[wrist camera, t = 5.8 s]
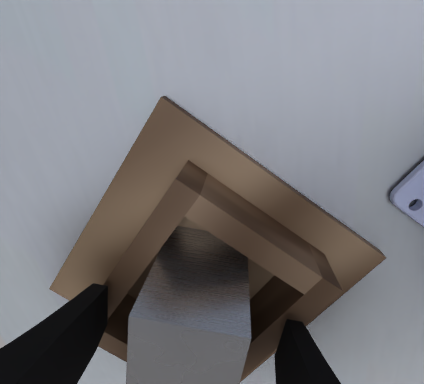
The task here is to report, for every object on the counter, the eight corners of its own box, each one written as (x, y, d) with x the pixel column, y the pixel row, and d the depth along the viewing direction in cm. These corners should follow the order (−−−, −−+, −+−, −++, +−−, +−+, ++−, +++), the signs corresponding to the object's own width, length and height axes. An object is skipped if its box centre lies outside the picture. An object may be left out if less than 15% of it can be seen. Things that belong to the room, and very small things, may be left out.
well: (380, 250, 13) (419, 297, 10) (229, 381, 17) (227, 441, 15) (165, 96, 12) (140, 100, 9) (56, 281, 16) (14, 326, 13)
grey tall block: (246, 237, 13) (251, 338, 8) (229, 319, 15) (223, 443, 10) (172, 224, 13) (128, 316, 8) (163, 307, 15) (124, 424, 10)
